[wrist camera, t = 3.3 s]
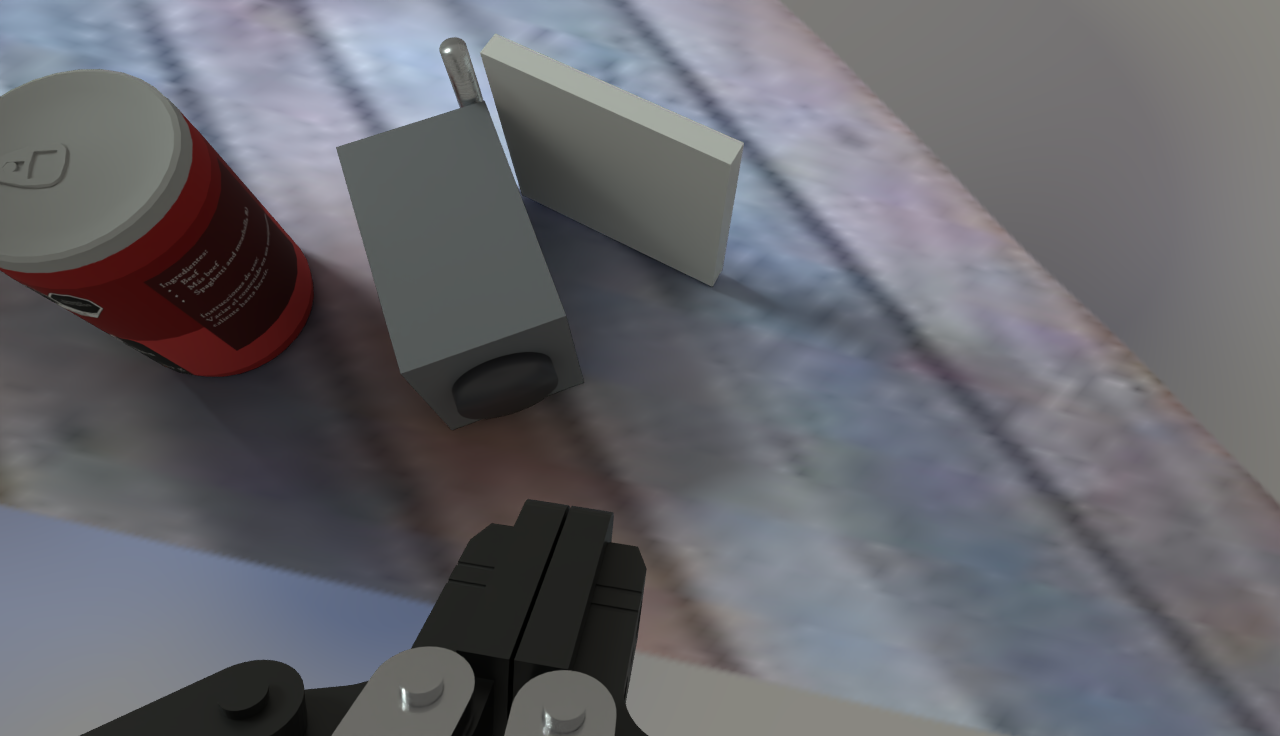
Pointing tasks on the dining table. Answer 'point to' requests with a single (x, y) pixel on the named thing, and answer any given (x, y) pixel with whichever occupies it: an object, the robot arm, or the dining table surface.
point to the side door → (615, 159)
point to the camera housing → (459, 261)
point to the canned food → (143, 226)
